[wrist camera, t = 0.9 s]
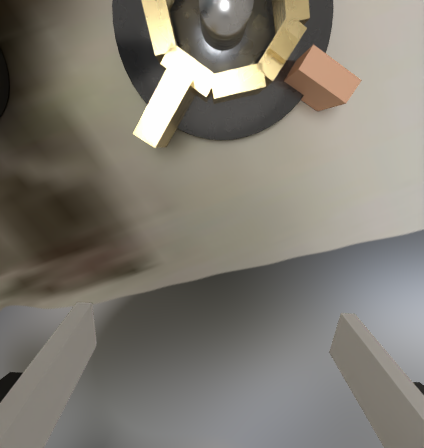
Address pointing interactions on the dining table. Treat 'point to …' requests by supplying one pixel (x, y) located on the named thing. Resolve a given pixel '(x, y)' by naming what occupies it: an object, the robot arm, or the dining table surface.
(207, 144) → the dining table surface
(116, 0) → the plate
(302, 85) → the block
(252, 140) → the dining table surface
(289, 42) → the gold octagonal ring
